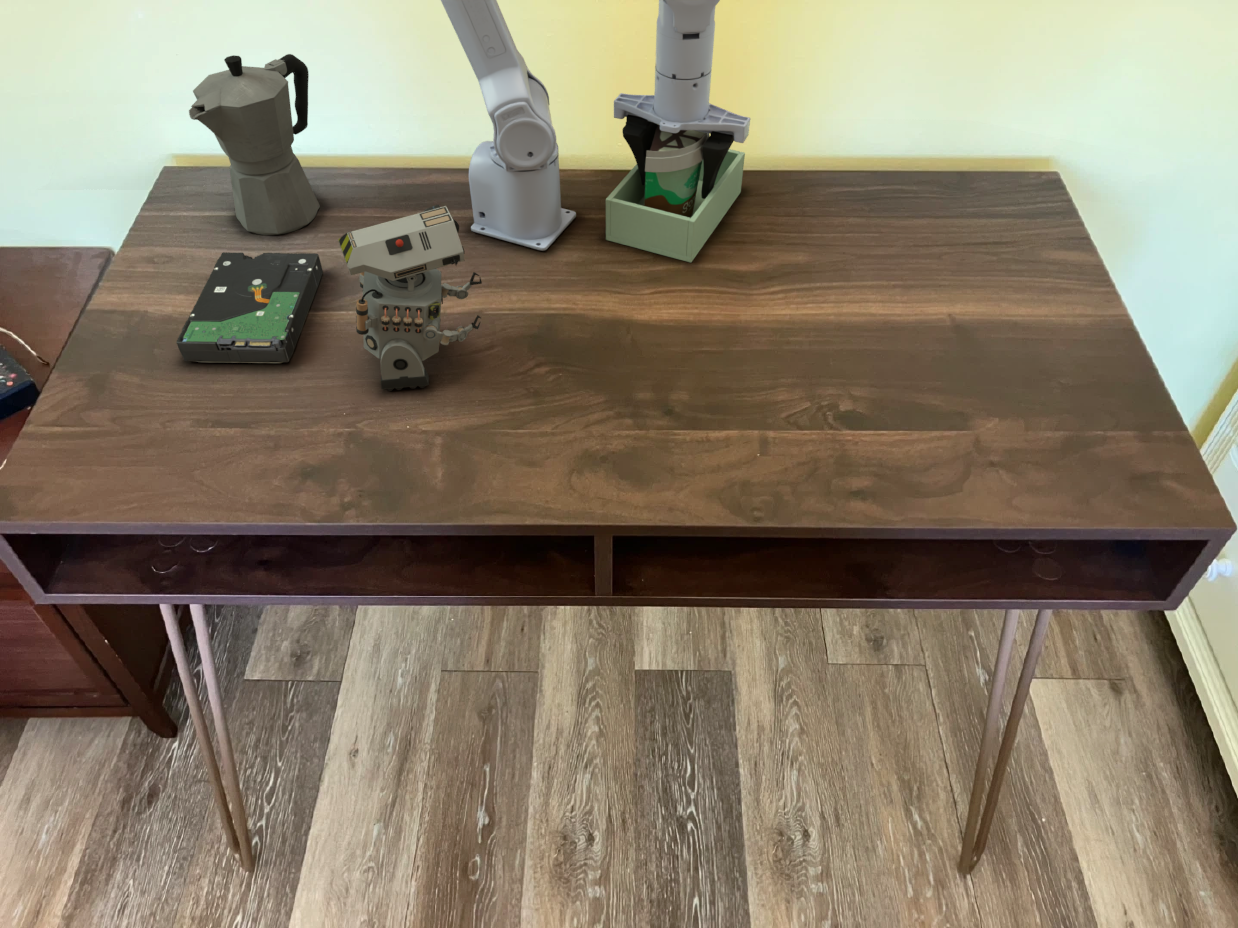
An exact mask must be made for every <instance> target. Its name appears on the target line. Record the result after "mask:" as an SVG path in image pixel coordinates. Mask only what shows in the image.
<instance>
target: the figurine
mask: <svg viewBox="0 0 1238 928" xmlns="http://www.w3.org/2000/svg"><path fill="white" fill-rule="evenodd" d="M459 230H460V225H459V223H458V221H457V220H456V219H454V218H453V216H452V214H451V213H450V211H449V209H448V207H447V205H444V206H440V204H434V205H433V206H430V207H427V208H425V209H424V210H423V211H422V212H418V213H415V214H414V213H413V214H410V215H407V216H403V217H400V218H396V219H392V220H388V221H385V222H382V223H378V224H374V225H370V226H367V227H364V228H359V229H356V230H352V231H349V232H345V234H343V235H342V236H341V237H339V238H338V239H337V241H338V243H339V247H340V249H341V252H342V255H343V258H344V261H345V264H346V266H347V269H348V273H349V275H350V276H355V275H358V274H359V287H360V288H361V289H362V296H361V298H358V299H357V300H356V301H355V302H356V307H355V313H356V315H355V323H356V327H355V329H356V330H355V331H356V334H358V335H360V336H363V339H362V340H363V349H365V350H366V351H368V352H369V354H372V355H373V356H374V357H376V358H377V359H379V360H380V390H387V391H388V392H391V391H393V390H394V389H395V390H397V391H401V390H402V389H403V388H410V389H412V390H413V389H414V390H415V389H417V387H419V388H420V389H424V388H426V386H429V385H430V383H429V382H430V380H429V379H430V377H429V374H428V371H427V369H426V368H425V367H424V364H423V362H424V361H425V360H427V359H429V358H431V357H432V356H434V355H435V354H437V353H439V348H440V344H441V345H443V346H449V345H450V342H451V343H453V342H456V341H458V342H460V343H461V342H464V341H465V340H466V339H467V337H468V333H469V332H471V331H473V329H475V330H479V328H480V325H481V322H479V323H478V324H477V322H478V320H479V319H482V316H480V315H479V314H477V316H476V317H475V318H474V321H473V322H471V323H470V324H468V325H467V326H465V327H464V326H462V325H459V326H458V327H457V328H455V330H450V329H449V330H448V329H444V330H443V331H441V313H442V312H441V311H442V305H443V304H444V299H447V297H455V298H456V299H458V300H464V299H467V298H468V296H469V290H470V289H471V288H472V287H473V286H475V285H481V284H482V283H483V282H482V278H481V276H480V274H478V273H477V272H475V271H473V273H472V275H471V277H470V279H469V281H468V282H466V284H464V285H457V286H453V285H450V284H448V283H446V282H445V283H442V271H441V270H439V269H440V268H443V267H447V266H450V265H455V266H457V265H458V263H461V262H464V261H465V249H464V246H463V245H462V243H461V242H462V241H461V239H460V236H459ZM475 276H477V277H479V281H475ZM476 324H477V325H476Z"/></svg>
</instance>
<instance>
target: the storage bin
mask: <svg viewBox="0 0 1238 928" xmlns="http://www.w3.org/2000/svg"><path fill="white" fill-rule="evenodd" d="M745 157H746V152H744V151H740V150H735V149H731V148H729V150H728V152H727V154H726V156H725V158H724V160H723V162H722V164H721V167H720V169H719V172H718V174H717V177H716V181H715V184H714V188H713V189H712V190H711V192H710V193H709V194H708V196H707V197H706V198H705V199H703V198H702V196H701V191H702V183H703V174H704V165H703V160H702V165H701V170H700V176H699V181H698V187H697V193H696V198H695V204H694V209H693V214H692V216H691V217H690V218H689V217H685V216H682V215H678V214H674V213H670V212H666V211H662V210H658V209H654V208H650V207H646V206H644V201H645V186H643V185H642V182H641V177H640V173H639V169H638V166H637V163H636V164H635V165H634V166H633V167H632V169H631V170H630V171H629V172H628V173H627V174H626V175H625V177H623V179H622V180H621V181H620V182H619V184H618V185H617V186H616V187H615V188H614V189H613V190H612V192H610V194H609V195H607V197H606V198H605V240H606V241H608V242H613V243H616V244H620V245H622V246H623V245H624V246H627V247H631V248H635V249H639V250H643V251H646V252H650V253H654V254H658V255H661V256H664V257H668V258H671V259H675V260H679V261H683V262H687V263H692V262H693V261H694V259H695V258H696V257H697V255H698V254H699V252H700V251H701V249H702V248H703V247H704V245H705V244H706V242H707V241H708V240H709V238H710V237H711V235H712V234H713V232H714V231H715V230H716V228H717V227H718V225H719V224H720V222H721V221H722V220H723V218H724V217H725V215H726V214H727V212H728V211H729V209H731V206H732V205H733V204H734V203H735V201H736V200H737V198H738V197H739V195H740V194H741V192H742V184H743V175H744V165H745Z"/></svg>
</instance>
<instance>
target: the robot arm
mask: <svg viewBox="0 0 1238 928" xmlns="http://www.w3.org/2000/svg"><path fill="white" fill-rule="evenodd" d="M440 2H441V4H442V6H443V8H444V10H445V13H446V14H447V18H448V19H449V21H450V23H451V26H452V28H453V30H454V32H455V35H456V36H457V39H458V41H459V43H460V45H461V46H462V49H463V52H464V53H465V57H466V58H467V60H468V62H469V64H470V66H471V68H472V71H473V73H474V75H475V78H476V79H477V82H478V85H479V87H480V88H479V89H480V91H481V95H482V98H483V103H484V105H485V108H486V112H487V115H488V117H489V118H490V121H491V123H492V127H493V128H492V129H493V134H492V135H493V138H492V140H484V141H482V142H480V143H479V144H478V145H477V147H476V148H475V149H474V151H473V153H472V155H471V157H470V161H469V166H468V184H469V193H470V199H471V209H472V215H473V223H472V225H471V226H470V230H471V232H473V233H477V234H480V235H484V236H487V237H491V238H495V239H498V240H502V241H505V242H509V243H513V244H516V245H520V246H524V247H527V248H531V249H533V250H537V251H542V252H544V251H547V250H548V248H549V247H550V246H551V245H552V244H553V243H554V242H555V241H556V239H558V237H559V236H560V235H561V234H562V233H563V231H565V230H566V229H567V228H568V227H569V225H570V224H571V223H572V222H573V221H574V220H575V219H576V217H577V212H576V211H575V210H571V209H566V208H562V197H561V176H560V157H559V156H560V154H559V145H558V142H557V133H556V130H555V128H554V125H553V120H552V115H551V110H550V96H549V92H548V89H547V87H546V86H545V85H544V83H543V82H542V81H541V80H540V79H539V78H538V77H537V76H535V75H534V74H533V73H532V72H531V70H530V69H529V68H528V65H527V63H526V61H525V58H524V57H523V55H522V54H521V53H520V52H519V50H518V48H517V46H516V43H515V41H514V38H513V36H512V34H511V31H510V29H509V26H508V24H507V22H506V19H505V17H504V15H503V13H502V10H501V8H500V5H499V3H498V0H440ZM720 2H721V0H658V16H657V18H656V29H655V30H656V31H655V32H656V34H655V63H654V64H655V66H654V90H653V92H654V93H653V94H629V93H623V92H620V93H619V94H618V96H617V97H616V98H615V99H614V100H613V118H614V119H619V120H624V119H625V118H626V121H625V125H624V126H623V127H622V132H621V133H622V137H623V139H624V140H625V141H626V143H627V145H628V147H629V149H630V150H631V153H632V154H633V155H632V156H633V157H634V159H635V162H636V164H637V166H638V169H639V173H640V177H641V182H642V185H643V186H645V176H646V172H645V163H646V153H647V151H650V149H651V146H652V143H653V139H654V135H655V132H656V128H657V126H658V125H660V130H661V131H665V132H670V133H678V132H679V131H680V130H694V131H699V132H705V133H709V135H710V137H709V138H708V139H707V140H706V142H705V143H704V145H703V146H702V152H703V165H704V174H703V183H702V191H701V196H702V198H703V199H705V198H706V197H707V196H708V194H709V193H710V192H711V190H712V189H713V188H714V184H715V181H716V177H717V174H718V172H719V169H720V167H721V164H722V162H723V160H724V158H725V156H726V154H727V152H728V150H729V149H731V147H732V145H733V143H734V142H735V143H738V144H744V143H745V142H746V140H747V138H748V137H749V134H750V125H751V117H748V116H744V115H741V114H737V113H734V112H733V111H730V110H727V109H724V108H722V107H719V106H717V105H714V104H712V103H710V96H711V95H710V94H711V83H712V69H713V59H714V58H713V57H714V45H715V30H716V21H715V15H716V6H717V5H718V3H720Z"/></svg>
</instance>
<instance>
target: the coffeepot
mask: <svg viewBox="0 0 1238 928" xmlns="http://www.w3.org/2000/svg"><path fill="white" fill-rule="evenodd" d="M223 60H224V63H225V64H226V66H227V68H228V69H226V70H223V71H219V72H215V73H210V74H208V75H207V76H206V77H205V78H204V79H203V80H202V81H201V82H200V83H199V84H198V85H197V86H196V87H195V88H194V89H193V90H192V93H193V95H194V97H195V99H196V100H195V101H194V103H193V104H192V105H191V106H190V107H191V108H190V109H188V116H189V118H190V119H191V120H194V121H195V120H196V121H198V122H200V123H201V124H202V125H204V126H205V127H206V128H207V129H208V130H209V131H211V132H212V133H213V135H214V137H215V138H216V140H217V142H218V145H219V146H220V148H221V150H222V151H223V152H224V154H225V155H226V156H227V157H228V160H229V163H230V164H229V165H230V166H229V167H228V168H229V175H230V182H231V190H232V196H233V204H234V211H235V217H236V218H237V220H238V222H239V223H240V224H241V226H242V227H243V229H245V230H246V231H247V232H250V233H253V234H256V235H261V236H277V235H278V236H279V235H284V234H289V233H293V232H296V231H299V230H300V229H302V228H304V227H306V226H307V225H309V224H310V223H311V222H312V221H313V220H314V219H315V218H316V216H317V214H318V210H320V207H321V205H320V203H319V201H318V198H317V196H316V195H315V192H314V190H313V188H312V186H311V184H310V182H309V179H308V177H307V175H306V172H305V170H304V169H303V166H302V165H301V162H300V160H299V159H298V157H297V156H296V154H295V152H294V150H293V147H292V145H293V143H294V141H295V135H298V134H300V133H301V132H303V131H305V130H306V129H307V128H308V126H309V123H308V122H309V121H308V120H309V119H308V118H309V77H310V75H309V69H308V68H309V67H308V66H307V65H306V63H305V62H304V61H302V60H301V59H299V58H298V57H297V56H295V55H294V54H292V53H287V54H285V55H284V56H282V57H281V58H278V59H276V58H275V59H273V60H271V61H269V62H267V63H265V64H264V67H260V66H259V67H258V66H246V65H243V62H242V57H241V56H240V55H230V56H229V55H228V56H226V57H225V58H224V59H223ZM291 74H293V86H294V93H295V94H294V95H295V97H294V98H295V99H294V109H295V114H296V117H297V119H296V122H295V124H293V117H292V108H291V98H290V88H289V80H288V79H286V78H287V77H288V76H290V75H291Z"/></svg>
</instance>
